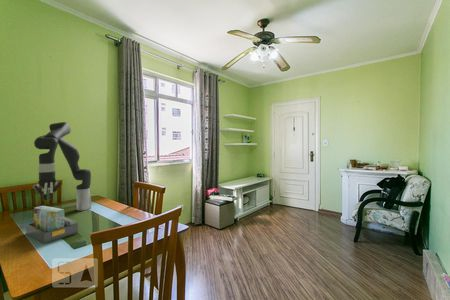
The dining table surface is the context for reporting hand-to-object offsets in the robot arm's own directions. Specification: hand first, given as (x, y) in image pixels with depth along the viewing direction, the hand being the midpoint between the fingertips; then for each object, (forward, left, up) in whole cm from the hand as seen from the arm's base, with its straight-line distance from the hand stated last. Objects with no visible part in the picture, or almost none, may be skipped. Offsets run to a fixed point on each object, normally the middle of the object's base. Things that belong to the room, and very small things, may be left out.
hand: (47, 199), depth 124 cm
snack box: (0, 0, -21) cm, 21 cm away
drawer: (-2, 0, -21) cm, 21 cm away
